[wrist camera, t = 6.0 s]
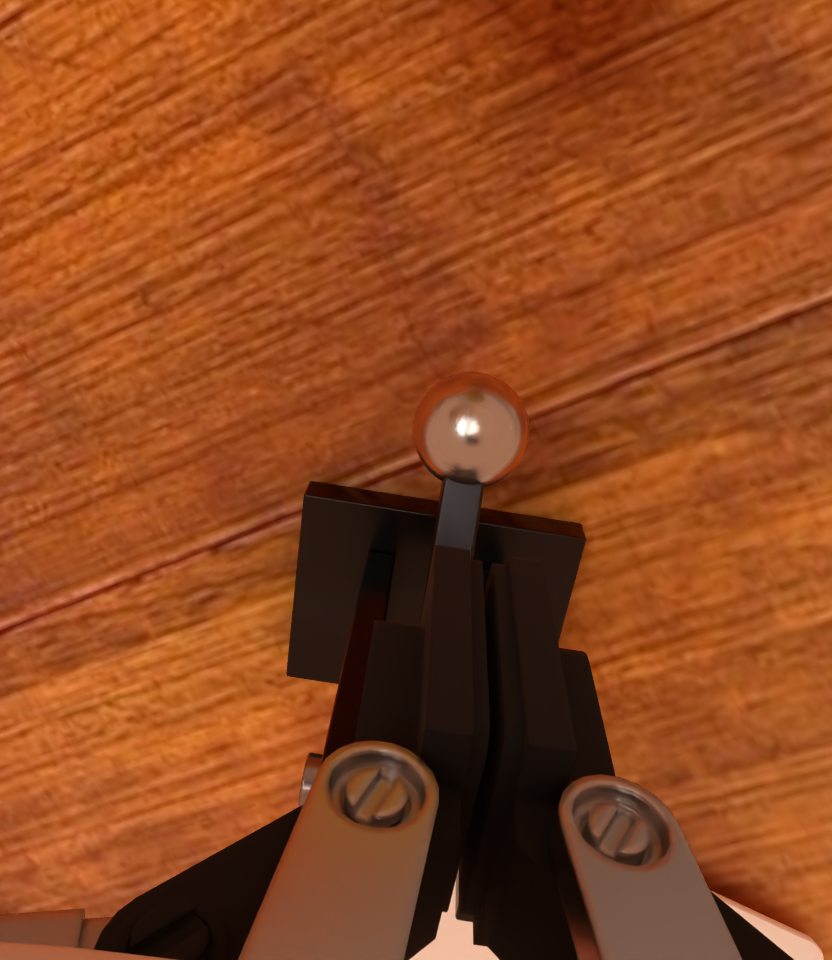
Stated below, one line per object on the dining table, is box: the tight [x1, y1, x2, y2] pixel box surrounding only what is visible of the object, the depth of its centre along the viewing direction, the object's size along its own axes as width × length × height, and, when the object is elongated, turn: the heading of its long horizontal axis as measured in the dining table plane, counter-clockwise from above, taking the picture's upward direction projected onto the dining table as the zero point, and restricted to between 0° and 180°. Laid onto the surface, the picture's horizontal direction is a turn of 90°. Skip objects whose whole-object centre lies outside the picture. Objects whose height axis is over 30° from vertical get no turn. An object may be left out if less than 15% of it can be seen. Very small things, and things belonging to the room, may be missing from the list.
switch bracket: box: [286, 481, 586, 922], centre depth 25 cm, size 8×10×12 cm
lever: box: [413, 372, 530, 627], centre depth 22 cm, size 13×3×3 cm, turn 172°
